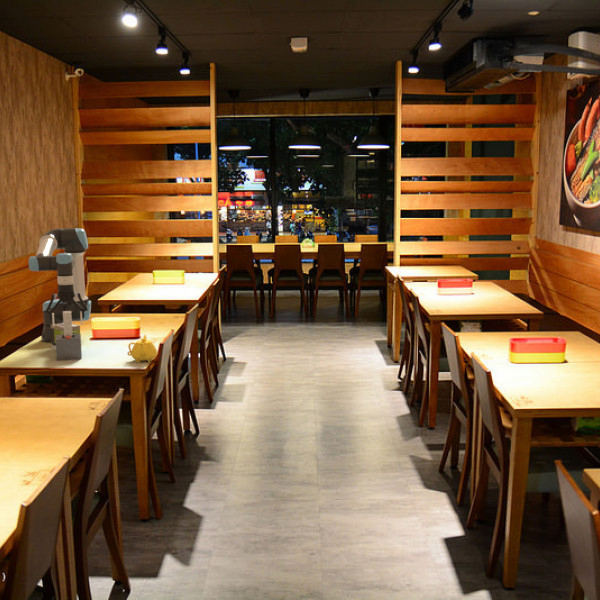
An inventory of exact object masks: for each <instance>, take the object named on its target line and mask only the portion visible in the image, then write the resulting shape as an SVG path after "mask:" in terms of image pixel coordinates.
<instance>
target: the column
mask: <svg viewBox="0 0 600 600" xmlns="http://www.w3.org/2000/svg"><path fill="white" fill-rule="evenodd" d="M72 324H73V321H72V316H71V311H63V325H64V338H66V336H71V338H73V335H72Z"/></svg>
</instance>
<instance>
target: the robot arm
mask: <svg viewBox="0 0 600 600" xmlns="http://www.w3.org/2000/svg"><path fill="white" fill-rule="evenodd" d="M38 243H39V244H38V245H39V246H38V249H37V252H36V253H35V255H34V256H30V257H29V258H28V268H29V271H31V272H49V271H51V272H52V271H53V272H54V271H56V272H57V273H56V275H57V276H56V278H57V284H58V285H57V292H58V293H57V294H55V293H52V294H51V299H50V300H47V301H45V302H43V303H42V318H43V329H42V333H41V337H40V339H41V342H43V343H51V324H53V327H54V326H55V325H54V324H58V323H63V311H71V316H72V322H80V325H81V326H83V321H84V322H85V321H89V319H90V318H91V317H90V316H91V311H92V300H89V297H88V296H87V295H86V285H85V283H86V281H85V267H84V264H85V263H84V254H85V253H86V251H87V250H88V249H89V242H88V238H87V233H86V231H85V229H84V228H77V227H75V228H71V227H70V228H68V227H67V228H54V229H53V228H52V229H51V230H48V231H47V232H45V233H43V234H42V236H40V238H39V241H38ZM55 250H64V251H63V253H62V252H61V253H57V254H56V255H53V253H54V251H55Z"/></svg>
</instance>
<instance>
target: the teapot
mask: <svg viewBox="0 0 600 600" xmlns="http://www.w3.org/2000/svg"><path fill="white" fill-rule="evenodd" d="M131 345H133V347H132V349H131ZM128 350H129V351H127V354H126V355H128V357H130V356H131V357H132V359H133V360H136V361H135V363H137V362H138V363H141V362H140V361H151V362H150V363H152V362H153V361H152V360H154V359H155V358H156V357H157V355H158V351H157V348H156V346H155V344H154V343H153V341H152V340H149V339H147V335H146V334H145V335H143V337H142V338H140V340H137V341H135V342H134V341H133V342H129V344H128Z"/></svg>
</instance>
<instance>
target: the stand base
mask: <svg viewBox="0 0 600 600" xmlns="http://www.w3.org/2000/svg"><path fill="white" fill-rule="evenodd" d="M72 335H73V338H71V336H66V338H64V335H56V350H55V353H56V355H55V356H56V361H57V362H58V361H70V360H71V361H72V360H73V361H75V360H82V358H83V357H82V355H83V354H82V353H83V352H82V351H83V350H82V338H81V337H82V333H80V334H72Z"/></svg>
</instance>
